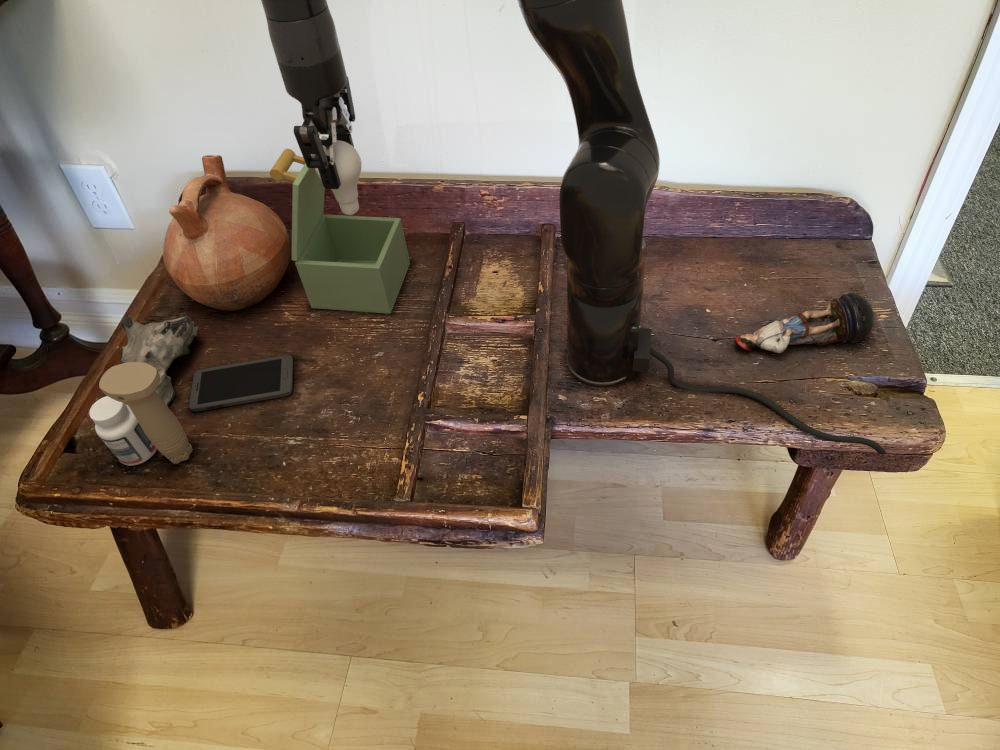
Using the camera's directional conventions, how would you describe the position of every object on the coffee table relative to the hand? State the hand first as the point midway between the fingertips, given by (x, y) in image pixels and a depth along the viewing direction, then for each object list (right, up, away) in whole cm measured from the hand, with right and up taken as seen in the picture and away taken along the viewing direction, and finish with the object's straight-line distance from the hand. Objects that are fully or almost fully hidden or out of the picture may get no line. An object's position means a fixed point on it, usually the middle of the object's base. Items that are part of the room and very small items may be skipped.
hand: (340, 172), depth 98 cm
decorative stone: (-26, -26, +7) cm, 38 cm away
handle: (-20, -38, -4) cm, 43 cm away
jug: (-19, -13, +18) cm, 29 cm away
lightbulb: (0, -5, +5) cm, 7 cm away
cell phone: (-14, -29, +3) cm, 32 cm away
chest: (0, -13, +16) cm, 20 cm away
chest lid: (-5, -3, +4) cm, 7 cm away
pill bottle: (-26, -37, -3) cm, 45 cm away
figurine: (+62, -22, +2) cm, 66 cm away
